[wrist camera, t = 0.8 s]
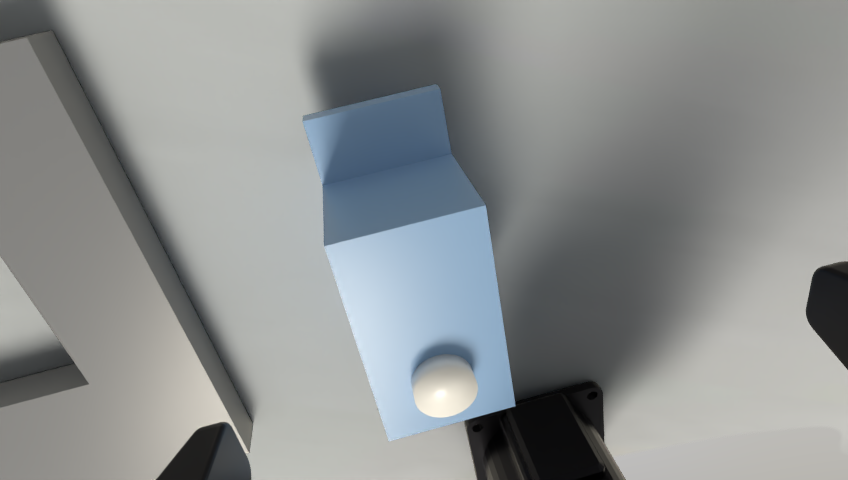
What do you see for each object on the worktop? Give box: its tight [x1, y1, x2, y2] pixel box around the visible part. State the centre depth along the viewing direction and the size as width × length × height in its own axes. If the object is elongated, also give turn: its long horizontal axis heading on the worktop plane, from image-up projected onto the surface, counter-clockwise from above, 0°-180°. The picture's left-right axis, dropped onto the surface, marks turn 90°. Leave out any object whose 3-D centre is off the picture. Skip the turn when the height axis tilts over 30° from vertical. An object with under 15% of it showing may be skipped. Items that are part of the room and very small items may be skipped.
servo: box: [303, 84, 515, 441], centre depth 17 cm, size 4×11×7 cm, turn 11°
